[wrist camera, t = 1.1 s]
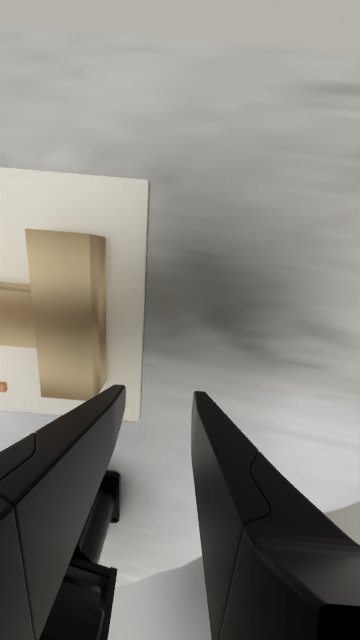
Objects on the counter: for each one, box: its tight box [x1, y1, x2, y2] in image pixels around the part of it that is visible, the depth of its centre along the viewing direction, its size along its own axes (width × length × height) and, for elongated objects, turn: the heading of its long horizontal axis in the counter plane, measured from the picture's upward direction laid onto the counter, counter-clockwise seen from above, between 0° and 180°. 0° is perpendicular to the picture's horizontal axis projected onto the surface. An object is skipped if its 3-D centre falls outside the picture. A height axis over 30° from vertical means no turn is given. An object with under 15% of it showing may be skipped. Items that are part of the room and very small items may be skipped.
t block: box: [0, 228, 107, 401], centre depth 17 cm, size 12×12×3 cm
